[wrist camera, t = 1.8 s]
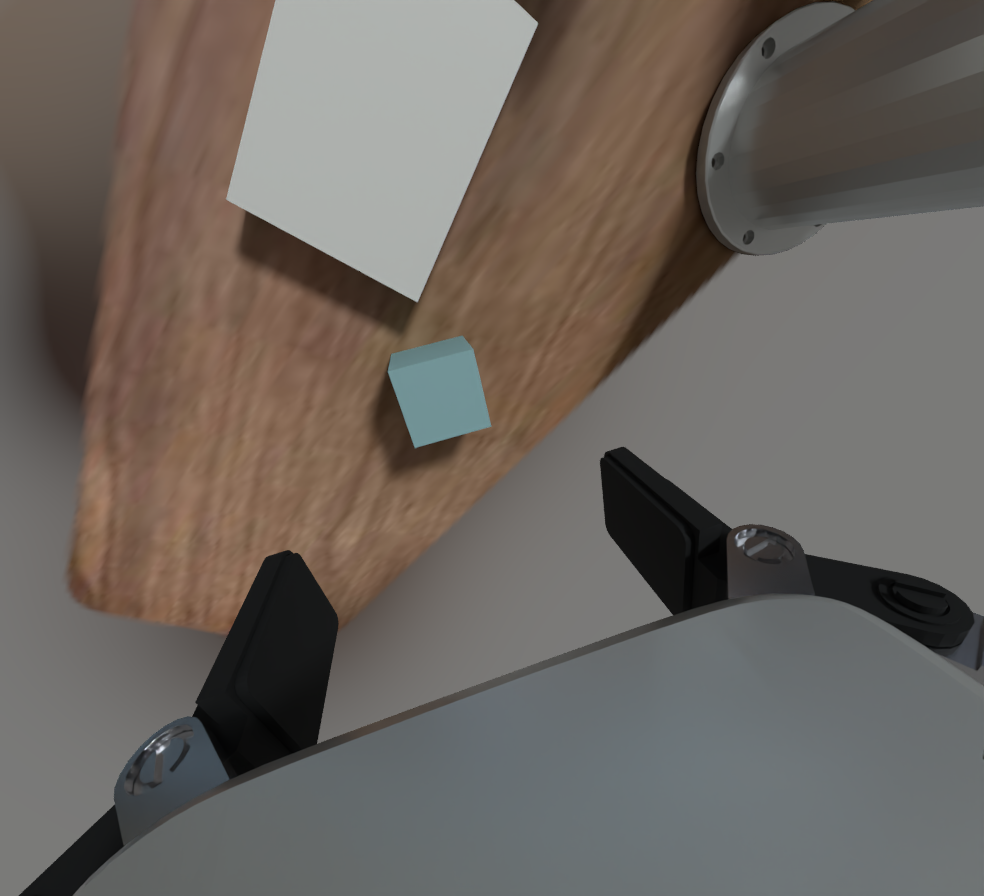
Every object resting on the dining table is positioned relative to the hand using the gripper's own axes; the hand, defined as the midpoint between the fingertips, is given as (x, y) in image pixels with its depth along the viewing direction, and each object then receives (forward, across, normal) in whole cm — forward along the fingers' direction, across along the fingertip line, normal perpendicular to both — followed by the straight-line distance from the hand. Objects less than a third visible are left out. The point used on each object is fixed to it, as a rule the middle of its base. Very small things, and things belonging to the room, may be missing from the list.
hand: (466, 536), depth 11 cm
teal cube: (+17, -1, 0) cm, 17 cm away
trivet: (+17, -2, -14) cm, 22 cm away
